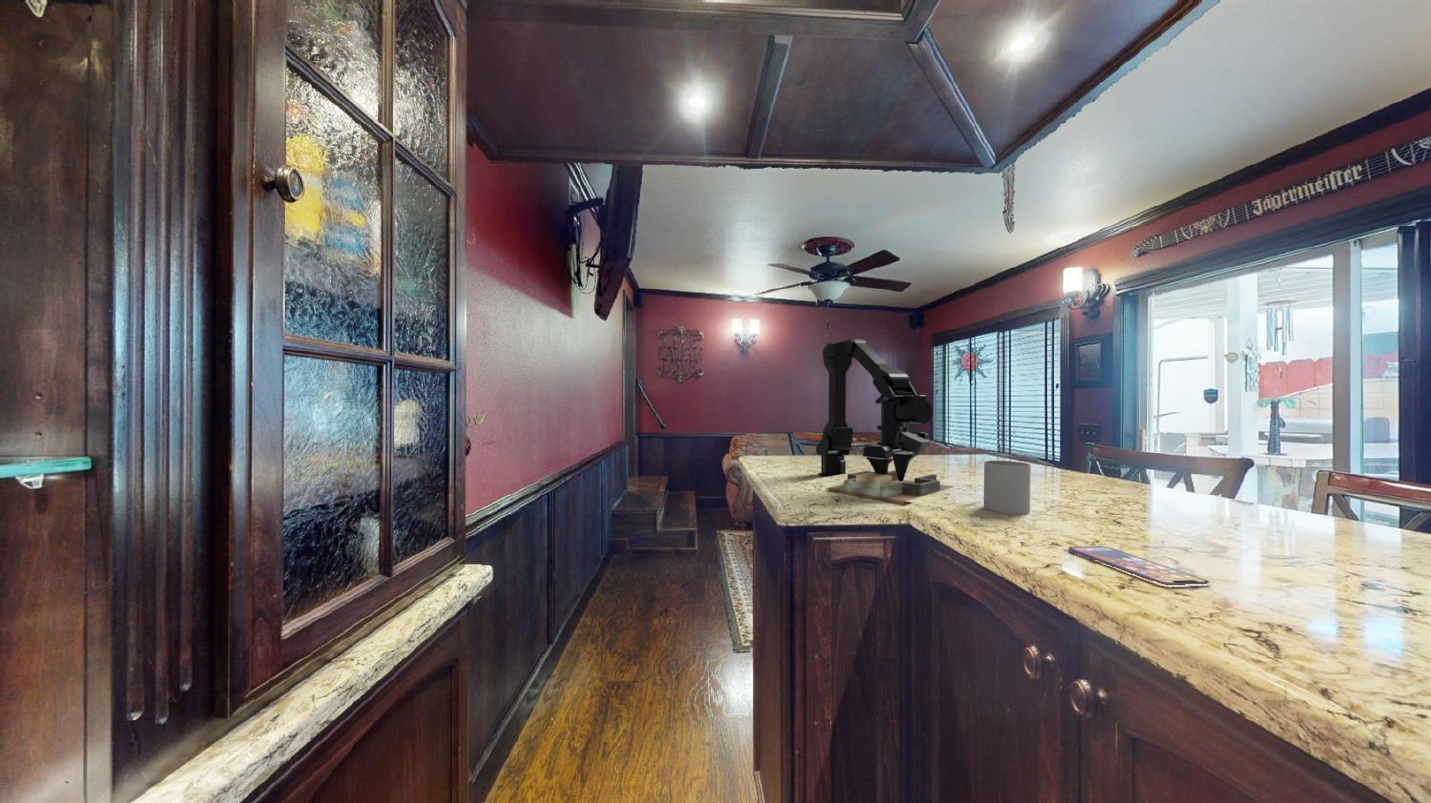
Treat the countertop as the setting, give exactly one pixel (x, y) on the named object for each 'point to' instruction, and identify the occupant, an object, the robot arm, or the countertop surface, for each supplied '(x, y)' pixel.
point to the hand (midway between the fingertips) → (892, 483)
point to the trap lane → (890, 488)
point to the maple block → (874, 478)
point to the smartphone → (1137, 565)
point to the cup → (1007, 487)
